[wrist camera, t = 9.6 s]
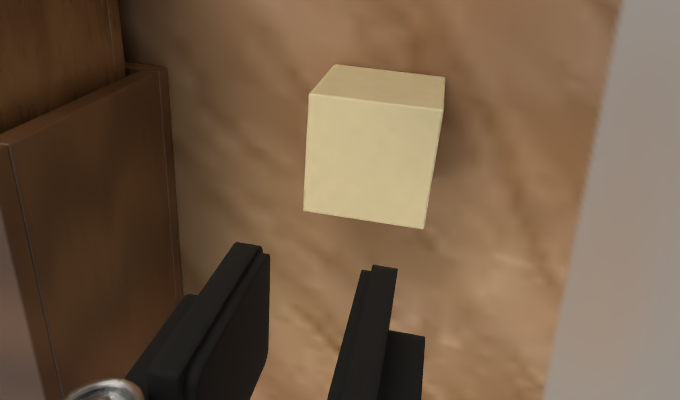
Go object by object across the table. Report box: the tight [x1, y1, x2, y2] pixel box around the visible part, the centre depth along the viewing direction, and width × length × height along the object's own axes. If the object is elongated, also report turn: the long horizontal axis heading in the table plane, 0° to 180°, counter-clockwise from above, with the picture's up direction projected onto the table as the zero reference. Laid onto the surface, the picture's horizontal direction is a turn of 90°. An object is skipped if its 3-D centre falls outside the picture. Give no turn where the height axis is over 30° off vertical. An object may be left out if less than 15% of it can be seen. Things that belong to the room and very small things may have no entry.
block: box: [303, 64, 445, 229], centre depth 21 cm, size 5×5×5 cm
